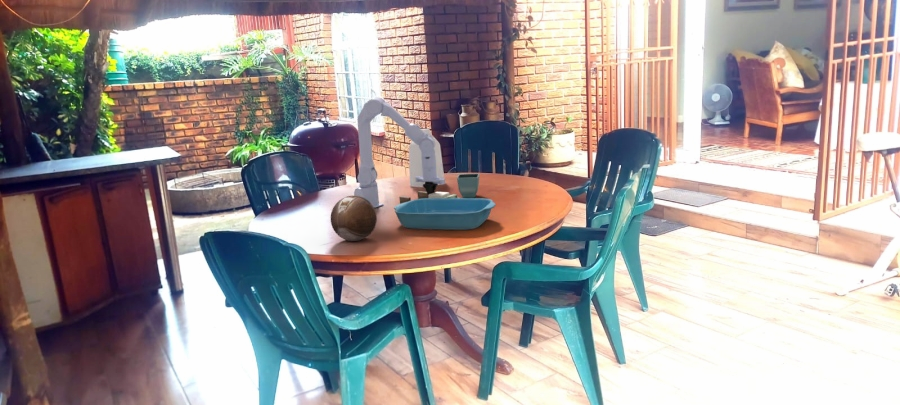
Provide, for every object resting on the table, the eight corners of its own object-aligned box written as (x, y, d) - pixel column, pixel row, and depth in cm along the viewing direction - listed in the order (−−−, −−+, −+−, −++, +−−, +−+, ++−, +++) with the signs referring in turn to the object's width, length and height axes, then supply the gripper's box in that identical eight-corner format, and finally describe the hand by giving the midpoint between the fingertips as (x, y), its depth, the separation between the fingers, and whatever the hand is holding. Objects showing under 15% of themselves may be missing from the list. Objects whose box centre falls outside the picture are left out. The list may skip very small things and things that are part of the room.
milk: (444, 182, 299) (440, 127, 293) (431, 187, 290) (427, 130, 284) (423, 181, 305) (419, 127, 300) (409, 186, 296) (405, 130, 290)
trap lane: (427, 212, 243) (426, 203, 242) (390, 206, 257) (389, 198, 256) (468, 199, 260) (468, 191, 259) (431, 194, 274) (431, 186, 273)
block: (441, 206, 250) (440, 195, 249) (429, 205, 254) (428, 194, 253) (449, 203, 255) (449, 192, 254) (437, 202, 259) (437, 191, 258)
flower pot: (480, 194, 269) (479, 173, 267) (479, 198, 260) (478, 177, 258) (459, 195, 270) (458, 174, 268) (458, 199, 261) (456, 178, 259)
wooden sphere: (326, 247, 205) (321, 202, 202) (341, 234, 220) (336, 192, 216) (371, 246, 203) (367, 200, 199) (383, 233, 217) (379, 190, 214)
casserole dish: (384, 231, 221) (383, 211, 220) (409, 215, 242) (408, 196, 240) (486, 233, 209) (485, 212, 207) (503, 216, 229) (502, 197, 228)
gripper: (449, 166, 252) (451, 200, 255) (423, 164, 261) (425, 196, 264) (437, 169, 246) (439, 203, 249) (410, 167, 256) (413, 200, 259)
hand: (431, 200), depth 256 cm, fingers closed
